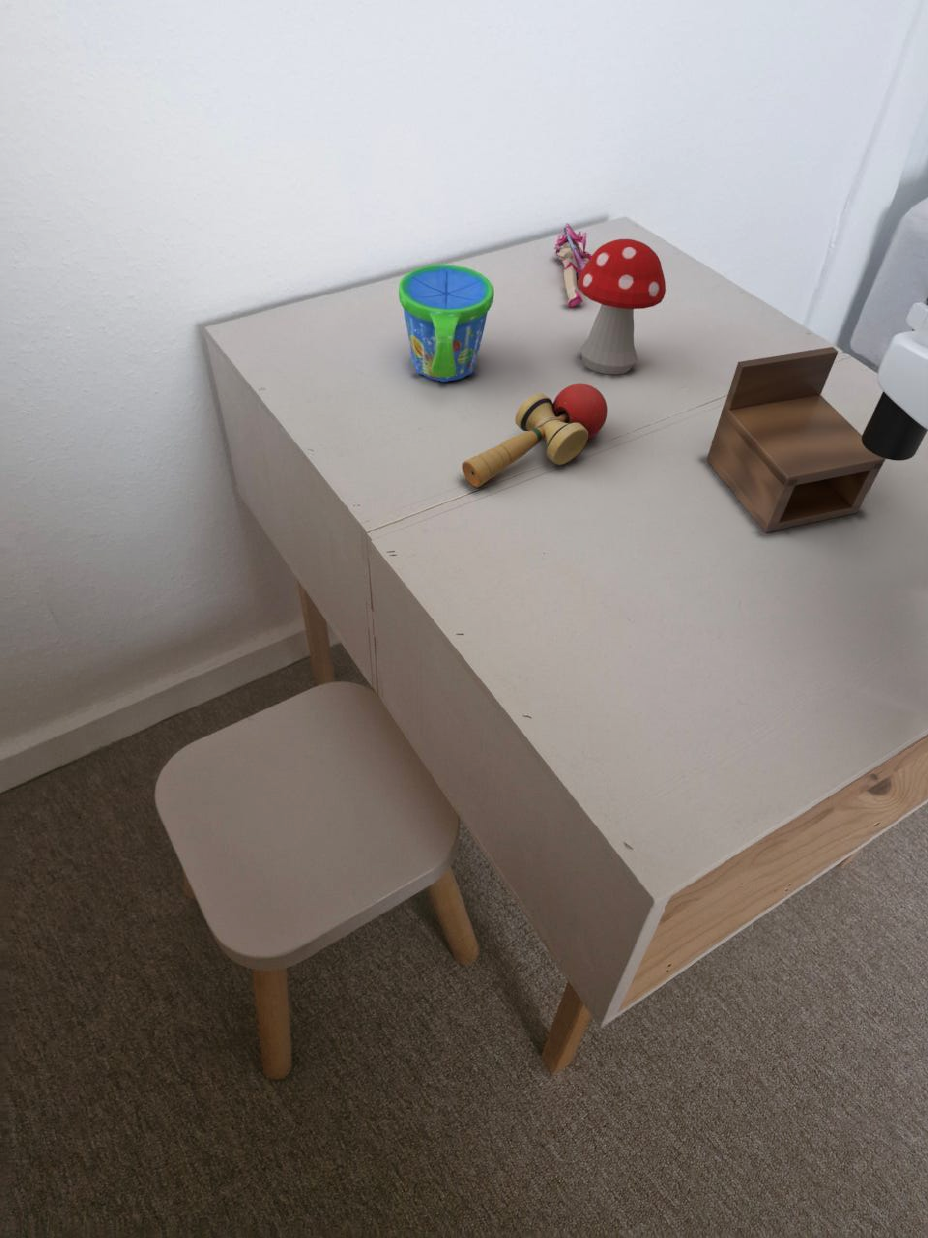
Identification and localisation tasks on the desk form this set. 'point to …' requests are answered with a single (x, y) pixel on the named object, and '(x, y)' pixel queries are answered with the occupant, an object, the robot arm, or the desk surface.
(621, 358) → the decorative mushroom
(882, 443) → the cylinder
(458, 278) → the snack cup
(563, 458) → the kendama
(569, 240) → the toy
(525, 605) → the desk surface
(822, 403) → the shelf
